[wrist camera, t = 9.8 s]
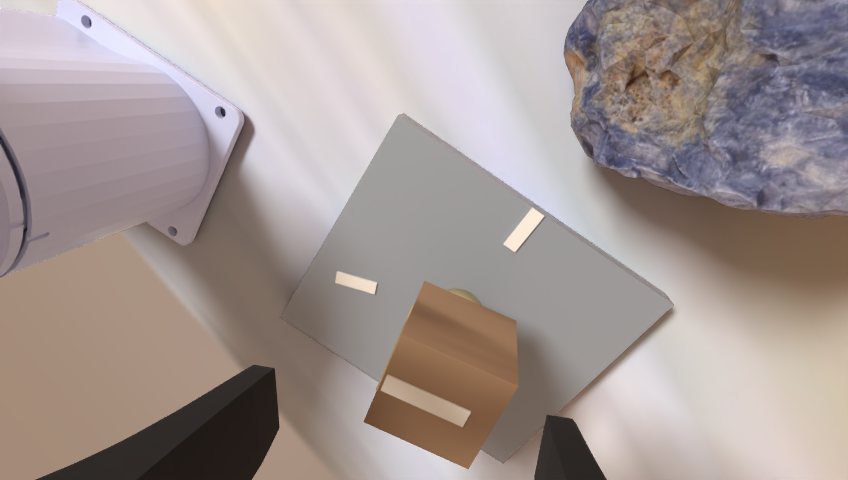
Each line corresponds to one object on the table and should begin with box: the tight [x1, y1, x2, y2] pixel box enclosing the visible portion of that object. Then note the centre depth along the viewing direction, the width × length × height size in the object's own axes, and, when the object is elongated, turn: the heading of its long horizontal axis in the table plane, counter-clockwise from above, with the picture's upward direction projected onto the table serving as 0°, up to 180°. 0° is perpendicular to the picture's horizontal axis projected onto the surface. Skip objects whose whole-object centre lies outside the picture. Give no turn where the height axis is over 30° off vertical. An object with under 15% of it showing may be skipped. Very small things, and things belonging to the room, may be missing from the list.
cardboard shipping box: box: [364, 281, 519, 469], centre depth 16 cm, size 4×4×4 cm
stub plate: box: [280, 113, 674, 463], centre depth 20 cm, size 14×12×3 cm
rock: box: [564, 0, 848, 219], centre depth 13 cm, size 11×10×10 cm
